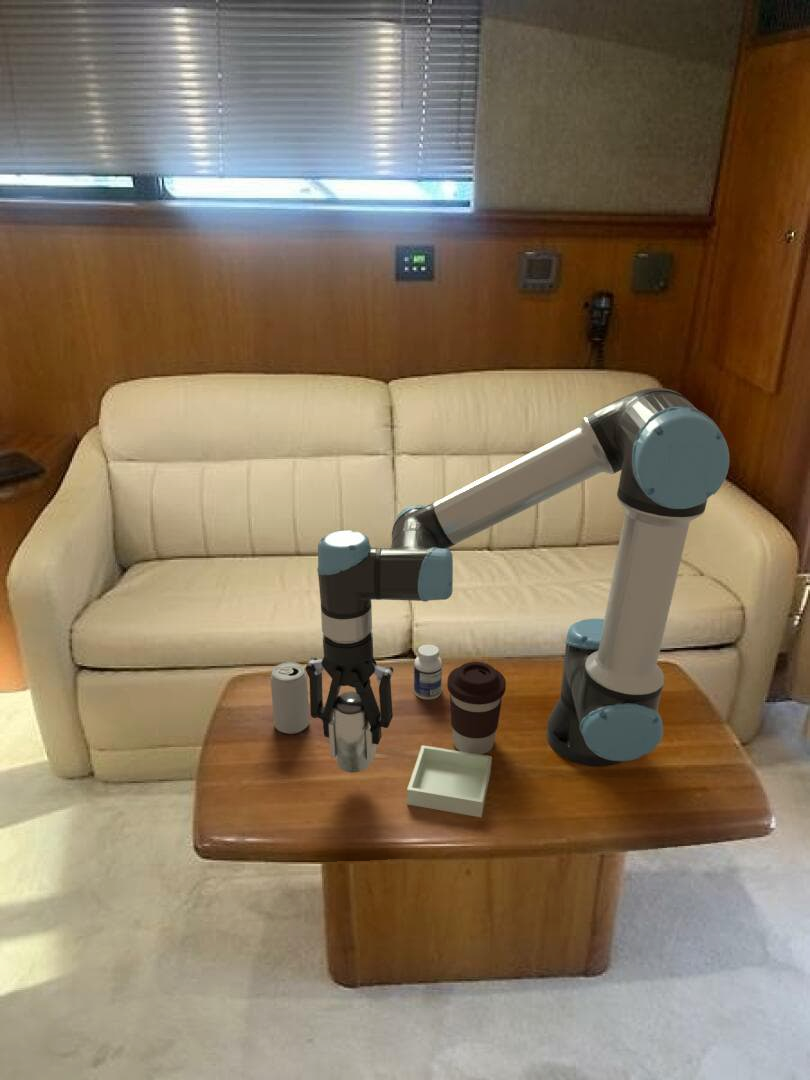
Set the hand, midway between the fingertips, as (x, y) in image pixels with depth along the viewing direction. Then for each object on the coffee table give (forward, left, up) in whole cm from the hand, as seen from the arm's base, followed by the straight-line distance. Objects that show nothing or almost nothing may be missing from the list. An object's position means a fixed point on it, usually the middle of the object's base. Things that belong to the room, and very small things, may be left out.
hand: (353, 754), depth 127 cm
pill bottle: (-7, -28, -6) cm, 29 cm away
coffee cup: (-18, -15, -6) cm, 24 cm away
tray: (-16, -3, -6) cm, 17 cm away
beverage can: (+15, -12, -6) cm, 21 cm away
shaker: (0, 0, -1) cm, 1 cm away
